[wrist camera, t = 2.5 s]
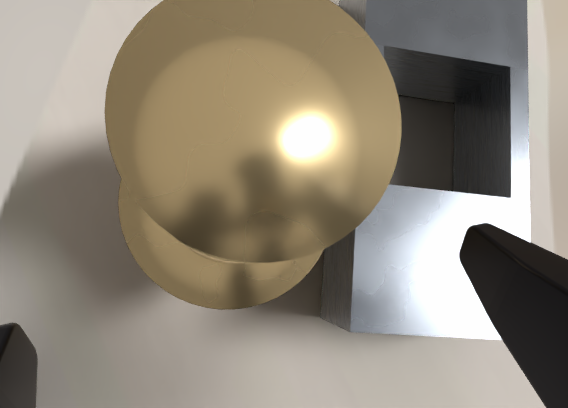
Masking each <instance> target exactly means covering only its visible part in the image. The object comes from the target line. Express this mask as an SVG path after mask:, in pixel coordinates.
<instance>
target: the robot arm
mask: <svg viewBox="0 0 568 408" xmlns="http://www.w3.org/2000/svg"><path fill="white" fill-rule="evenodd" d="M459 259H460V262H461V265H462V267H463V269H464V271H465V273H466V275H467V276H468V278H469V280H470V282H471V284H472V286H473V288H474V290H475V292H476V294H477V296H478V298H479V300H480V302H481V304H482V306H483V308H484V310H485V312H486V314H487V315H488V317H489V319H490V321H491V323H492V324H493V326H494V328H495V329H496V331H497V332H498V334H499V336H500V337H501V339H502V340H503V342H504V343H505V345H506V346H507V348H508V349H509V351H510V353H511V354H512V356H513V357H514V359H515V360H516V362H517V363H518V365H519V366H520V368H521V370H522V371H523V373H524V374H525V376H526V377H527V379H528V380H529V382H530V383H531V385H532V387H533V388H534V390H535V391H536V393H537V394H538V396H539V397H540V399H541V400H542V402H543V404H544V405H545V407H546V408H568V260H567V259H565V258H563V257H561V256H559V255H557V254H554V253H552V252H550V251H548V250H546V249H544V248H542V247H539V246H537V245H535V244H533V243H531V242H529V241H527V240H524V239H522V238H520V237H518V236H516V235H514V234H512V233H509V232H507V231H505V230H503V229H501V228H499V227H496V226H494V225H492V224H490V223H481V224H477V225H472V226H470V227H469V228H468V229H467V231H466V233H465V236H464V239H463V242H462V245H461V248H460V251H459ZM36 387H37V353H36V350H35V348H34V346H33V344H32V343H31V341H30V340H29V338H28V337H27V335H26V334H25V332H24V331H23V329H22V328H21V327H20V325H18V324H17V323H9V324H4V325H0V408H36Z"/></svg>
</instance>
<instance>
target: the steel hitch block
mask: <svg viewBox="0 0 568 408" xmlns="http://www.w3.org/2000/svg"><path fill="white" fill-rule="evenodd" d="M339 7H340V8H341V9H343V10H344V11H345V12H346V13H347V14H349V15H350V16H351V17H352V18H353V19H354V20H355V21H356V22H357V23H358V24H359V25H360V26H361V27H362V28H363V29H364V30H365V31H366V32H367V34H368V35H369V36H370V38H371V39H372V40H373V42H374V43H375V45H376V46H377V47H378V49H379V51H380V52H381V54H382V56H383V58H384V59H385V61H386V63H387V65H388V68H389V70H390V73H391V75H392V77H393V80H394V83H395V87H396V90H397V94H398V95H404V96H410V97H417V98H424V99H430V100H437V101H444V102H451V103H455V108H454V180H453V192H452V191H444V190H435V189H426V188H417V187H408V186H399V185H390V184H389V185H388V187H387V189H386V190H385V192H384V194H383V196H382V198H381V200H380V201H379V202H378V204H377V205H376V206H375V208H374V209H373V210H372V212H371V213H370V214H369V215H368V216H367V217H366V218H365V219H364V221H363V222H362V223H361V224H360V225H359V226H358V227H357V228H355V229H354V230H353V231H351V232H350V233H349V234H348V235H346V236H345V237H344V238H342V239H341V240H339V241H337V242H336V243H334V244H332V245H330V246H329V247H327V248H325V249H324V263H323V280H322V297H321V313H320V318H322V319H324V320H326V321H328V322H330V323H332V324H335V325H337V326H339V327H341V328H343V329H345V330H347V331H349V332H359V333H379V334H398V335H417V336H436V337H455V338H474V339H493V340H502V339H501V337H500V336H499V334H498V332H497V331H496V329H495V328H494V326H493V324H492V323H491V321H490V319H489V317H488V315H487V314H486V312H485V310H484V308H483V306H482V304H481V302H480V300H479V298H478V296H477V294H476V292H475V290H474V288H473V286H472V284H471V282H470V280H469V278H468V276H467V275H466V273H465V271H464V269H463V267H462V265H461V262H460V259H459V251H460V248H461V245H462V242H463V239H464V236H465V233H466V231H467V229H468V228H469V227H470V226H472V225H477V224H481V223H490V224H492V225H494V226H496V227H499V228H501V229H503V230H505V231H507V232H509V233H512V234H514V235H516V236H518V237H520V238H522V239H524V240H527V241H529V242H530V180H529V107H528V34H527V0H340V1H339Z"/></svg>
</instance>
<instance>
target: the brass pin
mask: <svg viewBox="0 0 568 408" xmlns="http://www.w3.org/2000/svg"><path fill="white" fill-rule="evenodd" d="M105 123H106V134H107V138H108V143H109V147H110V152H111V154H112V157H113V160H114V163H115V165H116V168H117V171H118V173H119V174H120V176H121V182H120V187H119V198H118V208H119V219H120V223H121V228H122V232H123V235H124V238H125V241H126V243H127V246H128V248H129V250H130V251H131V253H132V255H133V257H134V259H135V260H136V262H137V263H138V264H139V266H140V267H141V268H142V270H143V271H144V272H145V273H146V274H147V275H148V276H149V277H150V278H151V279H152V280H153V281H154V282H155V283H156V284H157V285H159V286H160V287H161V288H163V289H164V290H165V291H167V292H168V293H170V294H172V295H174V296H175V297H177V298H179V299H181V300H184V301H186V302H189V303H191V304H194V305H198V306H202V307H206V308H213V309H241V308H248V307H252V306H256V305H259V304H263V303H265V302H268V301H270V300H272V299H275V298H277V297H279V296H280V295H282V294H284V293H285V292H287V291H289V290H290V289H291V288H293V287H294V286H295V285H296V284H298V283H299V282H300V281H301V280H302V279H303V278H304V277H305V276H306V275H307V274H308V273H309V272H310V270H311V269H312V268H313V266H314V265H315V264H316V262H317V261H318V259H319V257H320V256H321V254H322V252H323V250H324V249H325V248H327V247H329V246H330V245H332V244H334V243H336V242H337V241H339V240H341V239H342V238H344V237H345V236H346V235H348V234H349V233H350V232H351V231H353V230H354V229H355V228H357V227H358V226H359V225H360V224H361V223H362V222H363V221H364V219H365V218H366V217H367V216H368V215H369V214H370V213H371V212H372V210H373V209H374V208H375V206H376V205H377V204H378V202H379V201H380V200H381V198H382V196H383V194H384V192H385V190H386V189H387V187H388V185H389V183H390V180H391V178H392V175H393V173H394V170H395V167H396V163H397V159H398V155H399V151H400V142H401V132H402V130H401V111H400V104H399V98H398V94H397V90H396V87H395V83H394V80H393V77H392V75H391V73H390V70H389V68H388V65H387V63H386V61H385V59H384V58H383V56H382V54H381V52H380V51H379V49H378V47H377V46H376V45H375V43H374V42H373V40H372V39H371V38H370V36H369V35H368V34H367V32H366V31H365V30H364V29H363V28H362V27H361V26H360V25H359V24H358V23H357V22H356V21H355V20H354V19H353V18H352V17H351V16H350V15H349V14H347V13H346V12H345V11H344V10H343V9H341V8H340V7H339V6H337V5H336V4H334V3H333V2H331V1H330V0H163V1H162V2H161V3H159V4H158V5H157V6H155V7H154V8H153V9H151V10H150V11H149V12H148V13H147V14H146V15H145V16H144V17H143V18H142V19H141V20H140V21H139V22H138V23H137V25H136V26H135V27H134V29H133V30H132V31H131V33H130V34H129V35H128V37H127V38H126V40H125V41H124V43H123V45H122V47H121V49H120V50H119V52H118V54H117V56H116V59H115V62H114V64H113V67H112V70H111V72H110V76H109V81H108V85H107V90H106V100H105Z"/></svg>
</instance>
